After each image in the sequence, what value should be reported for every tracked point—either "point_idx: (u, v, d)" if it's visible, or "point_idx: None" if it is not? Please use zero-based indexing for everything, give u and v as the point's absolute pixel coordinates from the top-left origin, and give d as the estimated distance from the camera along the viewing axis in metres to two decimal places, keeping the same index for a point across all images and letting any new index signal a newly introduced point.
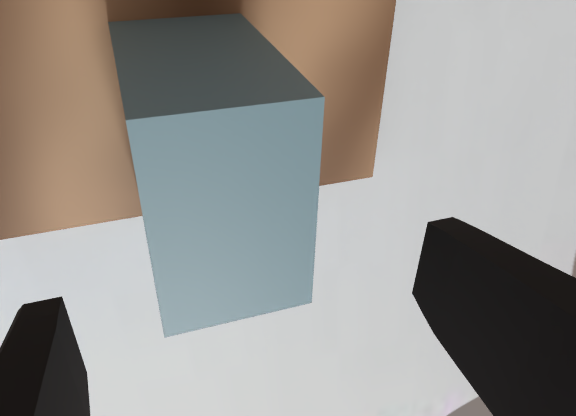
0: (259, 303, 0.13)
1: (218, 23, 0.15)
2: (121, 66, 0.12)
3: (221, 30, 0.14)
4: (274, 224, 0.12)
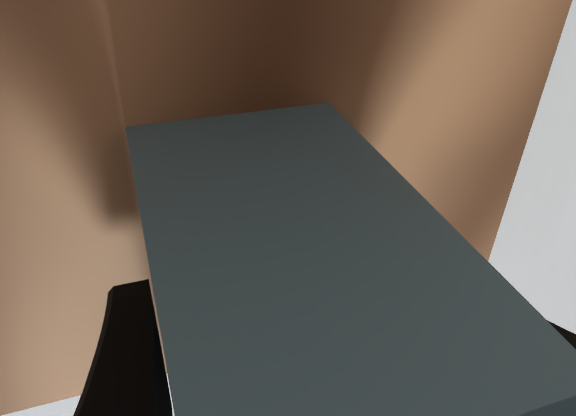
0: None
1: (303, 128, 0.09)
2: (159, 265, 0.06)
3: (313, 145, 0.09)
4: None
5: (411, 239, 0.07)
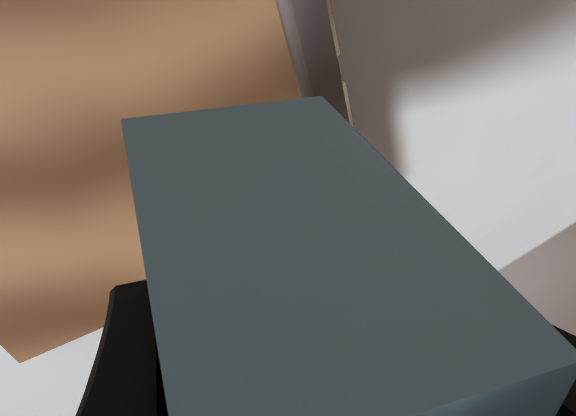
0: None
1: (295, 120, 0.09)
2: (151, 249, 0.06)
3: (304, 137, 0.09)
4: None
5: (398, 225, 0.07)
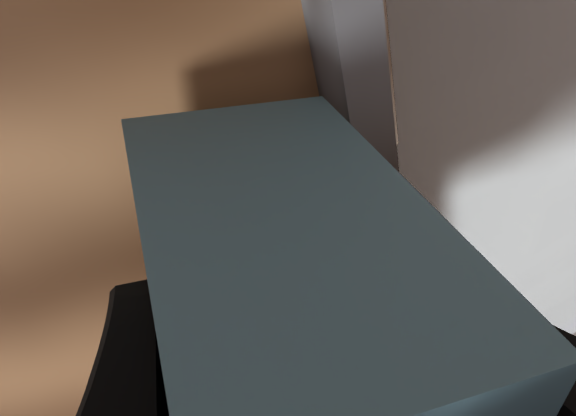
0: None
1: (295, 120, 0.09)
2: (152, 249, 0.06)
3: (305, 137, 0.09)
4: None
5: (399, 225, 0.07)
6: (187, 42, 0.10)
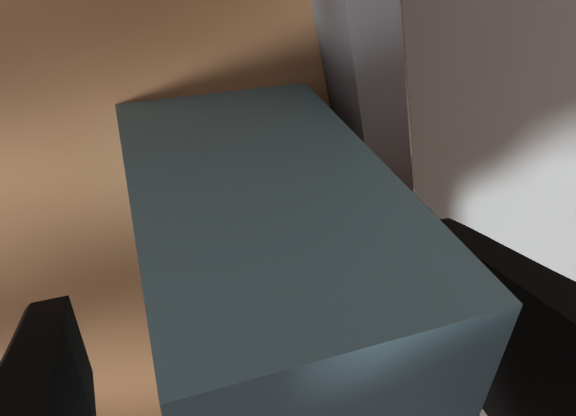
0: None
1: (278, 104, 0.10)
2: (141, 216, 0.07)
3: (286, 119, 0.10)
4: None
5: (366, 194, 0.07)
6: (193, 52, 0.10)
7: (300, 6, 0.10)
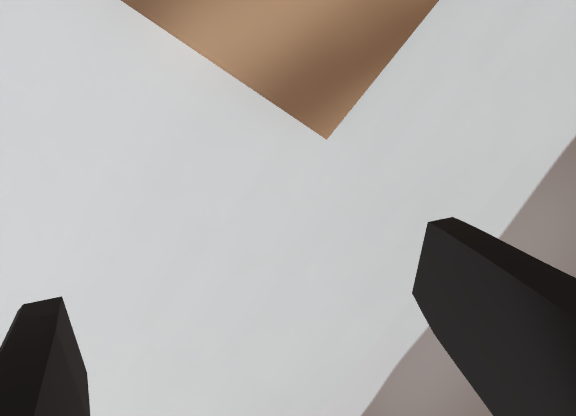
0: None
1: None
2: None
3: None
4: None
5: None
6: None
7: None
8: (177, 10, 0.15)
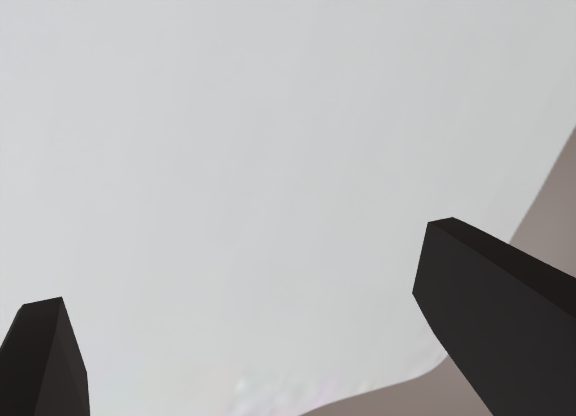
0: None
1: None
2: None
3: None
4: None
5: None
6: None
7: None
8: None
